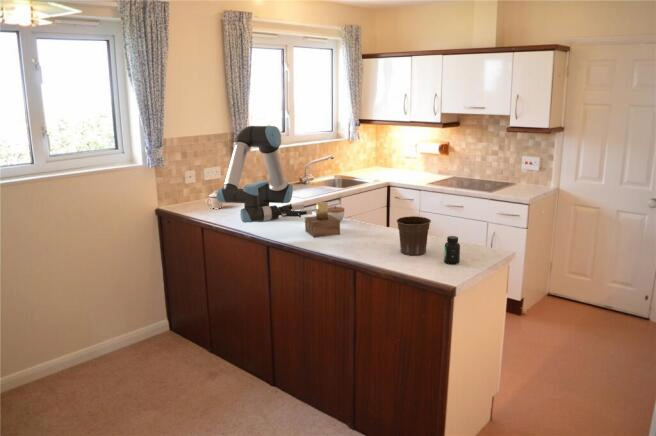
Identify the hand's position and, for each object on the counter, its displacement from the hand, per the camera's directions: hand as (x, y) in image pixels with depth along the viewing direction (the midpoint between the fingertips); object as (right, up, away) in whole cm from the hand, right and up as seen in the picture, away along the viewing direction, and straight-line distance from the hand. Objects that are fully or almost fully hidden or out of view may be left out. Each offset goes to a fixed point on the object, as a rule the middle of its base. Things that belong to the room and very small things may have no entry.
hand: (307, 209), depth 294 cm
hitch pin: (+8, -12, +6) cm, 16 cm away
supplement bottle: (+68, -25, -48) cm, 87 cm away
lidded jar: (+16, -7, +32) cm, 36 cm away
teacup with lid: (-66, +2, +72) cm, 98 cm away
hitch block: (+8, -13, +6) cm, 17 cm away
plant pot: (+53, -22, -31) cm, 65 cm away
